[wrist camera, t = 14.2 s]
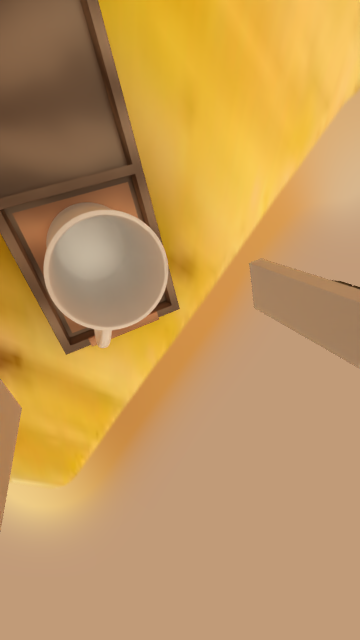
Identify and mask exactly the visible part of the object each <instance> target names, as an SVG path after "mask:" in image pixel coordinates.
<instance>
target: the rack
mask: <svg viewBox="0 0 360 640" xmlns="http://www.w3.org/2000/svg"><path fill="white" fill-rule="evenodd" d="M85 202H90V203H97V204H101V205H104V206H106V207H108V208H110V209H112V210H117V211H121V212H125V213H128V214H130V215H132V216H134V217H136V218H138V219H140V220H141V221H143V222H144V223H145V224H146V225H148V226H149V227H150V228H151V229H152V230H153V231H154V233H155V234H156V235H157V237H158V238H159V240H160V241H161V237H160V233H159V229H158V225H157V222H156V218H155V214H154V210H153V207H152V203H151V199H150V195H149V191H148V188H147V184H146V180H145V176H144V173H143V169H142V165H141V161H140V158H139V154H138V150H137V146H136V142H135V139H134V135H133V131H132V127H131V124H130V120H129V116H128V112H127V108H126V105H125V101H124V97H123V93H122V90H121V86H120V82H119V78H118V75H117V71H116V67H115V63H114V59H113V56H112V52H111V48H110V44H109V41H108V37H107V33H106V29H105V26H104V22H103V18H102V14H101V10H100V7H99V3H98V0H0V233H1V235H2V237H3V239H4V241H5V242H6V244H7V246H8V248H9V250H10V252H11V253H12V255H13V257H14V259H15V261H16V263H17V265H18V266H19V268H20V270H21V272H22V274H23V276H24V278H25V279H26V281H27V283H28V285H29V287H30V289H31V290H32V292H33V294H34V296H35V298H36V300H37V302H38V303H39V305H40V307H41V309H42V311H43V313H44V314H45V316H46V318H47V320H48V322H49V324H50V326H51V327H52V329H53V331H54V333H55V335H56V337H57V339H58V340H59V342H60V344H61V346H62V348H63V350H64V351H65V353H66V355H67V354H69V353H72V352H74V351H76V350H79V349H81V348H84V347H86V346H89V345H92V346H94V345H97V342H96V338H95V332H94V329H91V328H88V327H85V326H82V325H80V324H78V323H76V322H74V321H72V320H71V319H69V318H68V317H67V316H65V315H64V314H63V313H62V312H61V311H60V310H59V309H58V308H57V306H56V305H55V304H54V302H53V301H52V299H51V297H50V295H49V293H48V290H47V288H46V284H45V280H44V258H45V253H46V249H47V246H46V239H47V233H48V229H49V227H50V225H51V223H52V221H53V220H54V218H55V217H56V216H57V215H58V214H59V213H60V212H61V211H62V210H64V209H65V208H67V207H69V206H71V205H74V204H78V203H85ZM161 243H162V241H161ZM162 245H163V244H162ZM178 309H180V308H179V305H178V301H177V297H176V293H175V290H174V286H173V282H172V278H171V274H170V271H169V267H168V280H167V285H166V288H165V291H164V294H163V296H162V298H161V300H160V301H159V303H158V304H157V306H156V307H155V308H154V310H153V311H152V312H151V313H150V314H149V315H147V316H146V317H145V318H144V319H142V320H141V321H139V322H137V323H135V324H133V325H131V326H128V327H126V328H122V329H117V330H112V334H111V339H112V338H114V337H117V336H119V335H122V334H124V333H126V332H129V331H131V330H134V329H136V328H139V327H141V326H144V325H146V324H149V323H151V322H154V321H156V320H159V317H161V316H163V315H166V314H168V313H171V312H173V311H176V310H178Z"/></svg>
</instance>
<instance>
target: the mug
mask: <svg viewBox="0 0 360 640" xmlns="http://www.w3.org/2000/svg"><path fill="white" fill-rule="evenodd" d="M46 246H47V249H46V253H45V258H44V280H45V284H46V288H47V290H48V293H49V295H50V297H51V299H52V301H53V302H54V304H55V305H56V306H57V308H58V309H59V310H60V311H61V312H62V313H63V314H64V315H65V316H67V317H68V318H69V319H71V320H72V321H74V322H76V323H78V324H80V325H82V326H85V327H88V328H91V329H94V332H95V338H96V342H97V345H98V346H99V347H100V348H106V347H108V345H109V344H110V340H111V334H112V330H117V329H122V328H126V327H128V326H131V325H133V324H135V323H137V322H139V321H141V320H142V319H144V318H145V317H146V316H147V315H149V314H150V313H151V312H152V311H153V310H154V308H155V307H156V306H157V304H158V303H159V301H160V300H161V298H162V296H163V294H164V291H165V288H166V285H167V280H168V261H167V256H166V253H165V250H164V247H163V245H162V243H161V241H160V240H159V238H158V237H157V235H156V234H155V233H154V231H153V230H152V229H151V228H150V227H149V226H148V225H146V224H145V223H144V222H143V221H141V220H140V219H138V218H136V217H134V216H132V215H130V214H128V213H125V212H121V211H117V210H112V209H110V208H108V207H106V206H104V205H101V204H97V203H90V202H85V203H78V204H74V205H71V206H69V207H67V208H65V209H64V210H62V211H61V212H60V213H59V214H58V215H57V216H56V217H55V218H54V220H53V221H52V223H51V225H50V227H49V229H48V233H47V239H46Z"/></svg>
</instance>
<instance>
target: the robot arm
mask: <svg viewBox="0 0 360 640" xmlns="http://www.w3.org/2000/svg"><path fill="white" fill-rule="evenodd" d="M249 265H250V274H251V282H252V292H253V301H254V308H255V309H257V310H259V311H261V312H262V313H264V314H266V315H267V316H269V317H271V318H273V319H275V320H276V321H278V322H280V323H281V324H283V325H285V326H287V327H288V328H290V329H292V330H294V331H295V332H297V333H299V334H300V335H302V336H304V337H306V338H307V339H309V340H311V341H313V342H314V343H316V344H318V345H320V346H321V347H323V348H325V349H326V350H328V351H330V352H332V353H333V354H335V355H337V356H339V357H340V358H342V359H344V360H346V361H347V362H349V363H351V364H352V365H354V366H356V367H358V368H360V287H357V286H352V285H351V284H348V283H345V282H341V281H333V280H328V279H325V278H322V277H318V276H316V275H312V274H309V273H306V272H302V271H300V270H296V269H293V268H290V267H287V266H284V265H280V264H277V263H274V262H271V261H268V260H265V259H259V260H256V261H254V262H251V263H249ZM21 409H22V408H21V406H20V405H19V404H18V402H17V401H16V400H15V398H14V397H13V396H12V394H11V393H10V391H9V390H8V389H7V387H6V386H5V385H4V383H3V382H2V380H1V379H0V530H1V525H2V519H3V513H4V507H5V502H6V496H7V490H8V484H9V479H10V473H11V467H12V461H13V455H14V450H15V444H16V438H17V432H18V427H19V421H20V415H21Z"/></svg>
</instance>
